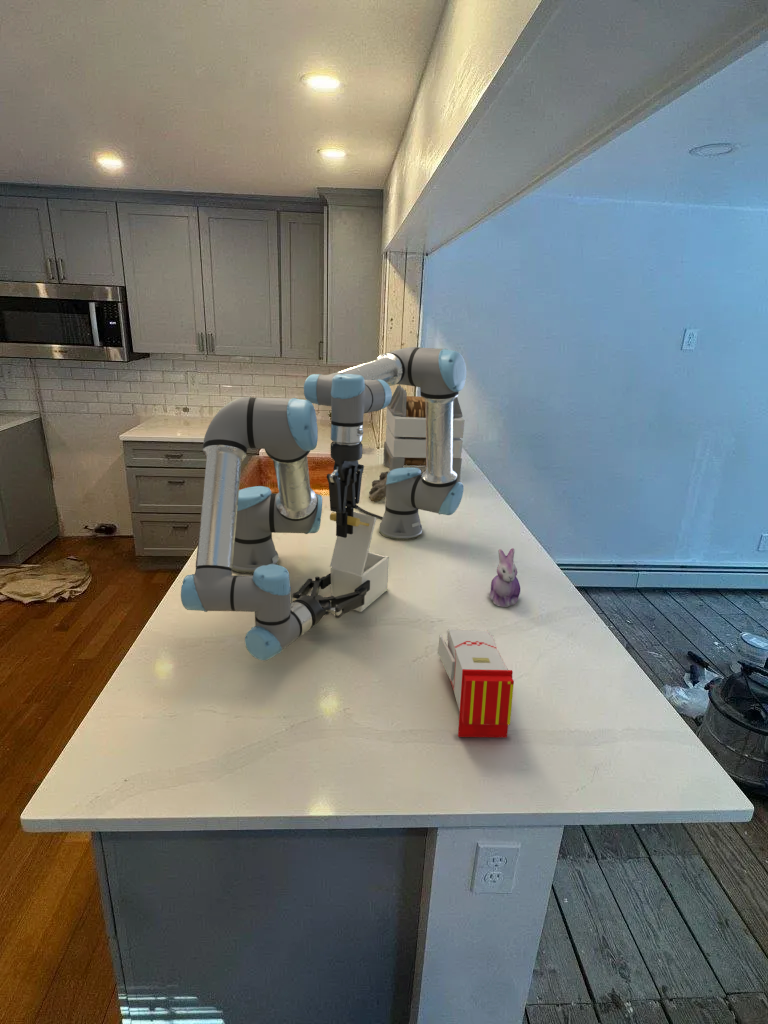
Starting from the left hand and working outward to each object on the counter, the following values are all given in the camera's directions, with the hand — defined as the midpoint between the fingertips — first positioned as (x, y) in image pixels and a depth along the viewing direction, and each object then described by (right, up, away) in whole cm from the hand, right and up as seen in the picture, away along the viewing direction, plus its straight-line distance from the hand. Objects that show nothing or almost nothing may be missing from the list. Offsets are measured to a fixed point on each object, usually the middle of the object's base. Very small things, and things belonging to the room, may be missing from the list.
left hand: (351, 579), depth 150 cm
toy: (+26, -20, -31) cm, 45 cm away
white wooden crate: (+26, +37, +125) cm, 133 cm away
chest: (+2, -5, +6) cm, 8 cm away
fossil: (+8, +25, +90) cm, 94 cm away
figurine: (+42, -7, +7) cm, 43 cm away
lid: (+1, +10, -3) cm, 11 cm away
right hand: (-1, +12, -8) cm, 15 cm away
